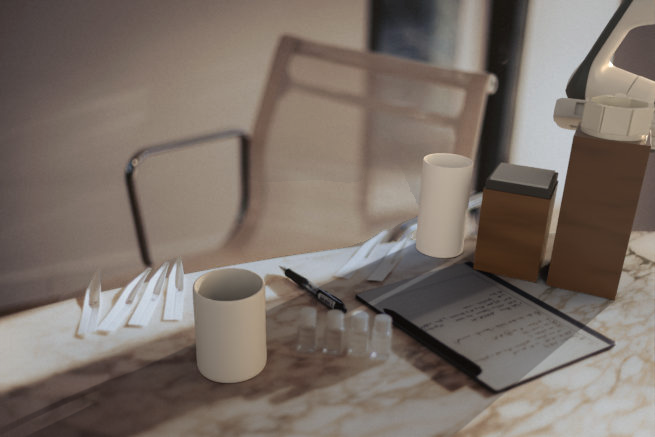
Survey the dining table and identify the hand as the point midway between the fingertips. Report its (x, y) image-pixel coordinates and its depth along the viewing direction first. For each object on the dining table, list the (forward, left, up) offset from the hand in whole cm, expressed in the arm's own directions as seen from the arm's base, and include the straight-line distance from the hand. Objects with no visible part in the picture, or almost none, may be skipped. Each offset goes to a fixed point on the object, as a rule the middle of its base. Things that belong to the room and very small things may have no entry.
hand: (619, 103), depth 100 cm
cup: (+27, 0, -26) cm, 37 cm away
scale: (+16, +6, -12) cm, 21 cm away
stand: (+11, +9, -26) cm, 29 cm away
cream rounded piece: (+3, +6, -2) cm, 7 cm away
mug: (+60, +32, -26) cm, 73 cm away
